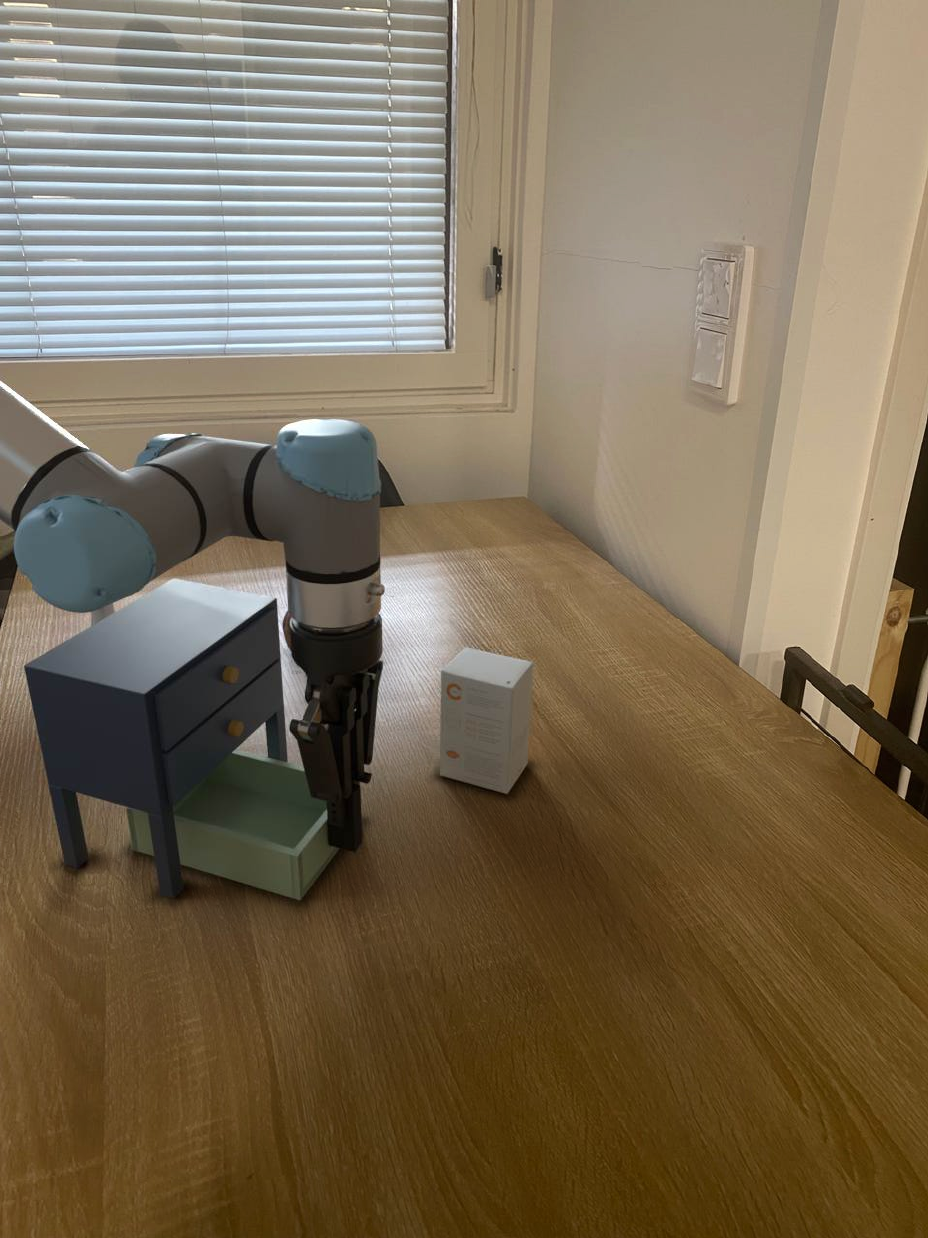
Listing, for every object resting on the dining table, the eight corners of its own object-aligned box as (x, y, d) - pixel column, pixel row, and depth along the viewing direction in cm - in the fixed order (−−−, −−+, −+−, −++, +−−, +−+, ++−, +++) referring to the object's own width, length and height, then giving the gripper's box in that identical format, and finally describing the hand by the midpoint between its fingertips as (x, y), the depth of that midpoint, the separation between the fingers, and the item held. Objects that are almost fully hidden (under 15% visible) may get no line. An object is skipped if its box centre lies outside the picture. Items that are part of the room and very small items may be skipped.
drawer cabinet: (64, 864, 84) (23, 665, 75) (194, 751, 101) (173, 577, 92) (187, 903, 80) (159, 698, 71) (300, 779, 97) (289, 600, 88)
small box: (528, 764, 101) (535, 661, 95) (507, 796, 95) (513, 688, 90) (461, 746, 103) (464, 644, 98) (437, 776, 98) (439, 670, 92)
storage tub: (132, 850, 86) (125, 807, 84) (206, 780, 96) (202, 740, 94) (300, 900, 81) (297, 856, 78) (360, 821, 91) (359, 780, 89)
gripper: (340, 657, 67) (350, 901, 78) (409, 592, 79) (410, 812, 89) (252, 639, 70) (273, 878, 80) (332, 578, 81) (341, 795, 91)
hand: (345, 843), depth 84 cm, fingers closed
